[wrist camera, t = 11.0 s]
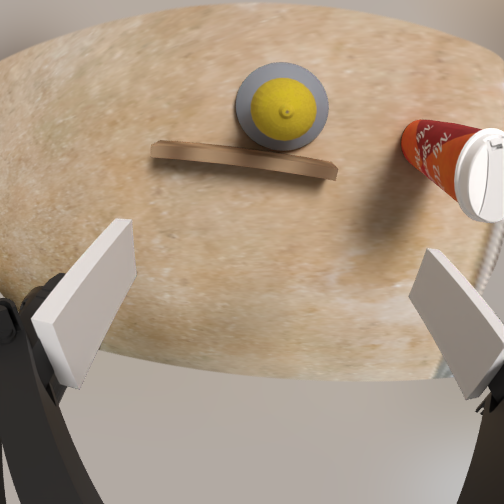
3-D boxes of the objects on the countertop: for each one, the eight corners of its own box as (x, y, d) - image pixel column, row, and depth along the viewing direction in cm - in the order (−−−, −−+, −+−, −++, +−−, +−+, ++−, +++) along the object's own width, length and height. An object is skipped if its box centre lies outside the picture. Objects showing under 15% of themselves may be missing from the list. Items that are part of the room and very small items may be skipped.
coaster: (231, 142, 31) (230, 144, 30) (242, 57, 26) (242, 56, 26) (318, 155, 31) (320, 157, 30) (333, 72, 27) (335, 72, 26)
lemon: (267, 142, 30) (269, 159, 23) (242, 93, 27) (235, 94, 20) (318, 120, 28) (336, 131, 22) (294, 70, 26) (305, 63, 19)
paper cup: (384, 118, 29) (457, 142, 16) (442, 104, 27) (526, 124, 15) (400, 185, 32) (466, 242, 20) (453, 168, 30) (530, 215, 18)
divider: (159, 151, 31) (150, 157, 29) (160, 140, 31) (150, 145, 28) (329, 172, 32) (335, 180, 29) (331, 162, 31) (338, 169, 29)
